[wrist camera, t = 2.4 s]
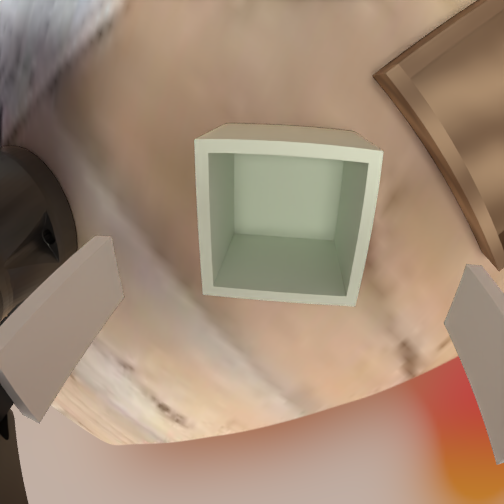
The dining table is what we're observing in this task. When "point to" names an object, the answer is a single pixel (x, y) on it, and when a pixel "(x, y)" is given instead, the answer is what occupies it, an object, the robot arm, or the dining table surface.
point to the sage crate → (285, 212)
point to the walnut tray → (460, 112)
